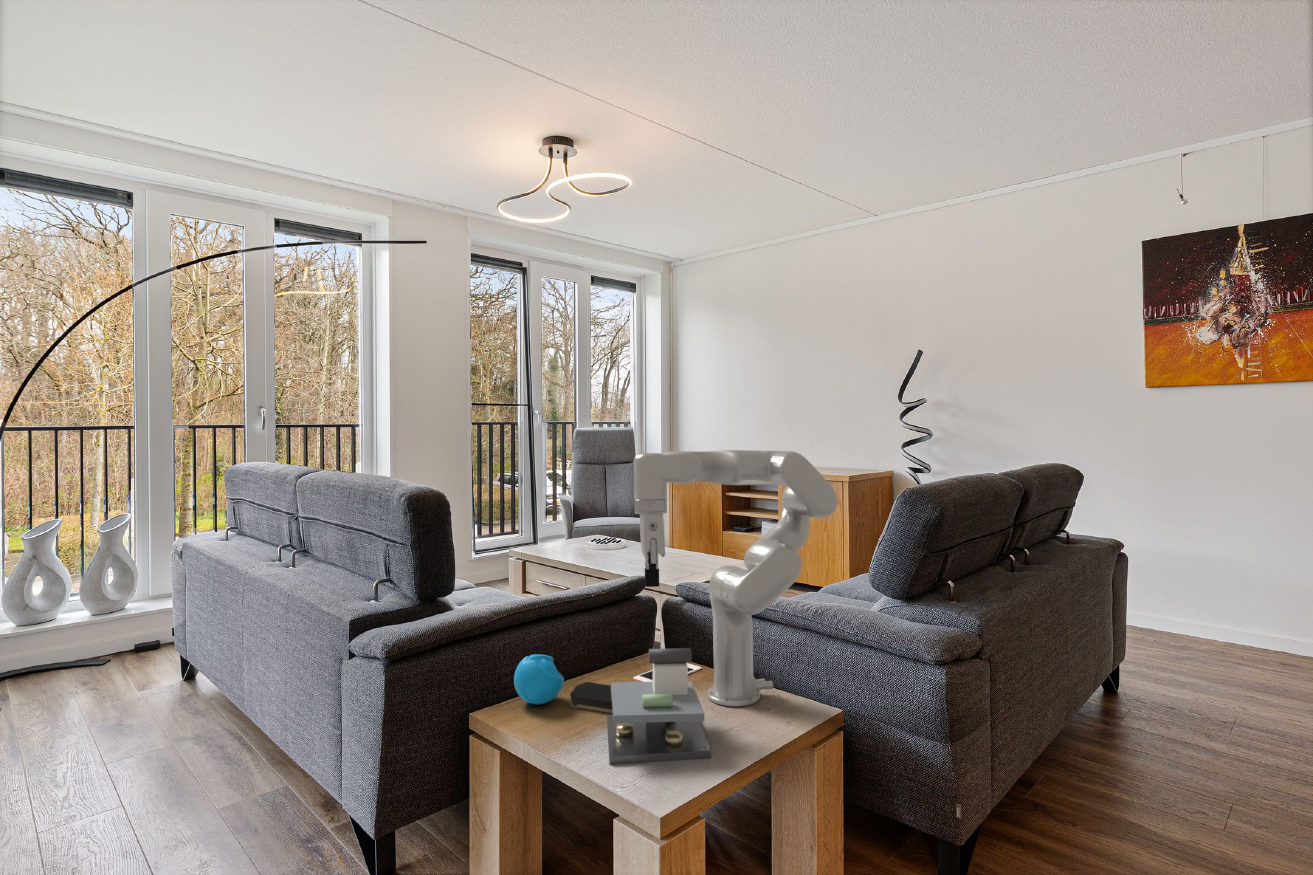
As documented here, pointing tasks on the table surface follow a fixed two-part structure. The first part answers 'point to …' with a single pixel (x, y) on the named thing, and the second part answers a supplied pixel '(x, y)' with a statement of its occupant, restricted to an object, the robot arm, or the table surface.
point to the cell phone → (649, 675)
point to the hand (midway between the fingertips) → (652, 585)
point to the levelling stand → (655, 741)
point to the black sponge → (592, 697)
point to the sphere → (537, 679)
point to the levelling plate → (642, 715)
